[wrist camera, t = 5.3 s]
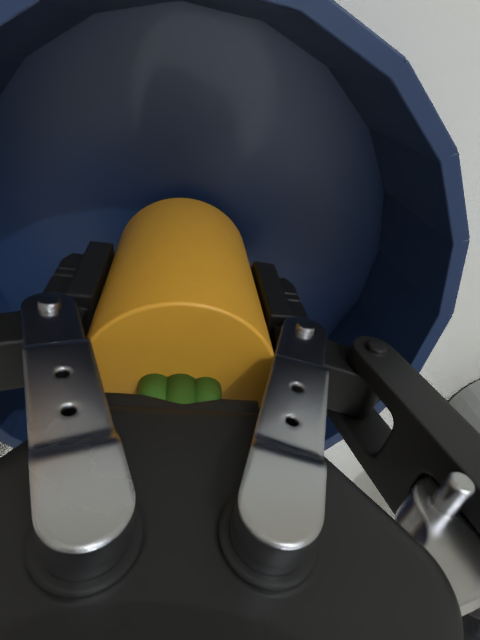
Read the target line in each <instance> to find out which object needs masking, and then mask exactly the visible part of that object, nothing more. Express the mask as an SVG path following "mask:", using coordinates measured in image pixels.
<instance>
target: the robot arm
mask: <svg viewBox="0 0 480 640" xmlns="http://www.w3.org/2000/svg"><path fill="white" fill-rule="evenodd" d="M113 258H114V244H113V243H105V242H97V241H90V242H89V244H88V246H87V248H86V251H85V253H84V254H78V253H72V254H70V255H68V256H67V257H65V258H63V259H62V260H61V262H60V264H59V265H58V267H57V269H56V271H55V272H54V275H53V276H52V277H51V279H50V281H49V283H48V284H47V286H46V288H45V290H44V291H43V293H38V294H34V295H32V296H29V297H28V298H26V299H25V300H24V301H23V302H22V303H21V307H20V308H21V310H19V311H15V312H8V313H0V391H5V390H11V389H17V388H23V387H24V388H25V403H26V418H27V433H28V439H27V440H25V441H24V442H22V443H21V444H20V445H18V446H17V447H15V448H14V449H12V450H11V451H10V452H8V453H7V454H5V455H4V456H3V457H1V458H0V640H464V632H463V621H462V616H464V615H466V614H469V615H470V616H472V617H474V618H476V619H479V620H480V433H479V432H478V431H477V430H476V429H475V428H474V427H473V426H472V425H471V424H470V423H469V422H468V421H467V420H466V419H465V418H464V417H463V416H462V415H461V414H460V413H459V412H458V411H457V410H456V409H455V408H454V407H453V406H452V405H451V404H449V403H448V402H447V401H446V400H445V399H444V398H443V397H442V396H441V395H440V394H439V393H438V392H437V391H436V390H435V389H434V388H433V387H432V386H431V385H430V384H429V383H428V382H427V381H426V380H425V379H424V378H423V377H422V376H421V375H420V374H419V373H418V372H417V371H416V370H415V369H414V368H413V367H412V366H411V365H410V364H409V363H408V362H407V361H406V360H405V359H404V358H403V357H402V356H401V355H400V354H399V353H398V352H397V351H396V350H395V349H394V348H393V347H392V346H391V345H389V344H388V343H386V342H384V341H382V340H380V339H378V338H375V337H370V336H359V337H357V338H355V339H354V341H353V343H352V346H351V347H350V346H347V345H343V344H340V343H337V342H334V341H331V340H328V339H327V333H326V330H325V329H324V328H323V326H321V325H320V324H319V323H317V322H316V321H314V320H311V319H309V318H308V316H307V314H306V311H305V309H304V307H303V304H302V302H301V300H300V297H299V296H298V293H297V290H296V288H295V286H294V285H293V284H292V283H291V282H290V281H288V280H287V279H286V278H279V276H278V273H277V270H276V268H275V265H274V264H272V263H264V262H256V261H254V262H253V263H252V266H251V272H252V275H253V279H254V282H255V286H256V290H257V293H258V297H259V301H260V304H261V308H262V311H263V315H264V319H265V322H266V326H267V330H268V333H269V337H270V340H271V344H272V348H273V351H274V357H273V361H272V364H271V368H270V371H269V375H268V378H267V382H266V385H265V388H264V392H263V395H262V398H261V402H260V405H259V407H258V401H250V400H232V399H217V400H210V401H203V402H196V403H189V404H179V403H175V402H171V401H167V400H163V399H159V398H155V397H151V396H147V395H143V394H125V393H108V392H105V391H104V388H103V384H102V380H101V376H100V373H99V369H98V365H97V362H96V358H95V354H94V350H93V347H92V343H91V340H90V338H86V336H87V333H88V330H89V328H90V325H91V322H92V319H93V316H94V313H95V310H96V307H97V304H98V301H99V298H100V296H101V293H102V290H103V287H104V284H105V281H106V278H107V275H108V272H109V269H110V266H111V264H112V261H113ZM378 399H380V400H381V401H382V402H383V404H384V405H385V406H386V407H387V408H388V410H389V411H390V412H391V414H392V417H393V421H394V425H393V429H392V430H391V429H390V428H389V426H388V425H387V424H386V423H385V421H384V420H383V419H382V418H381V416H380V415H379V414H378V413H377V411H376V410H375V409H374V406H375V404H376V402H377V400H378ZM326 414H327V415H328V417H329V418H330V420H331V421H332V423H333V424H334V426H335V427H336V429H337V430H338V431H339V433H340V434H341V436H342V437H343V439H344V440H345V442H346V443H347V445H348V446H349V448H350V449H351V451H352V452H353V454H354V455H355V457H356V458H357V460H358V461H359V462H360V464H361V465H362V467H363V468H364V470H365V471H366V473H367V474H368V476H369V477H370V479H371V480H372V482H373V483H374V485H375V486H376V488H377V489H378V490H379V492H380V493H381V495H382V496H383V498H384V499H385V501H386V502H387V504H388V505H389V507H390V508H391V510H392V511H393V513H394V514H395V520H394V519H393V518H392V517H391V516H390V515H389V514H387V513H386V512H385V511H384V510H383V509H382V508H381V507H380V506H379V505H377V504H376V503H375V502H374V501H373V500H372V499H371V498H370V497H369V496H367V495H366V494H365V493H364V492H363V491H362V490H361V489H360V488H359V487H358V486H356V485H355V484H354V483H353V482H352V481H351V480H350V479H349V478H348V477H346V476H345V475H344V474H343V473H342V472H341V471H340V470H339V469H338V468H336V467H335V466H334V465H333V464H332V463H331V462H330V461H329V460H328V459H327V458H325V457H324V444H325V429H326Z"/></svg>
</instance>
